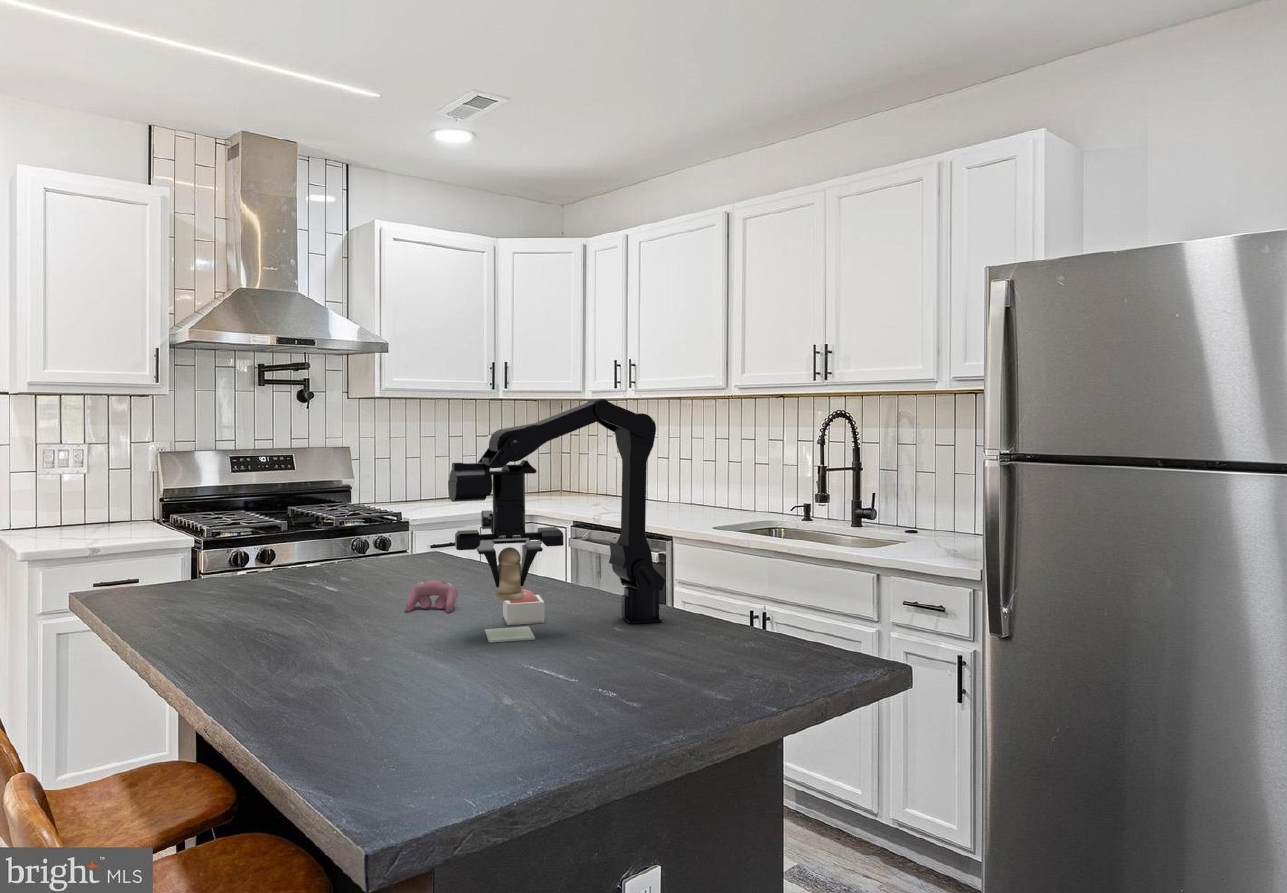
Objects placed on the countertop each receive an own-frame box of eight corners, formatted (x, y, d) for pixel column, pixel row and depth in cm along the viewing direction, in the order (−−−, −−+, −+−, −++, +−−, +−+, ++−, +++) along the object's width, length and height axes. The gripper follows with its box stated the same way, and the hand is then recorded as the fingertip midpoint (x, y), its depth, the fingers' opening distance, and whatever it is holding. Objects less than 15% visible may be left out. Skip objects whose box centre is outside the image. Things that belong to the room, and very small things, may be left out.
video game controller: (457, 617, 173) (461, 583, 176) (450, 611, 169) (455, 577, 172) (410, 616, 174) (415, 582, 177) (402, 610, 170) (407, 576, 173)
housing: (538, 614, 168) (538, 594, 168) (544, 623, 161) (544, 602, 161) (503, 617, 166) (503, 596, 166) (507, 625, 159) (507, 604, 159)
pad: (528, 628, 157) (528, 626, 157) (535, 639, 149) (535, 637, 149) (484, 631, 155) (484, 629, 155) (488, 642, 147) (488, 640, 147)
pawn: (521, 594, 155) (521, 544, 155) (525, 599, 150) (525, 548, 150) (494, 595, 154) (493, 546, 153) (497, 601, 149) (496, 550, 149)
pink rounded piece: (534, 613, 167) (534, 586, 167) (538, 619, 162) (538, 591, 162) (508, 615, 165) (508, 587, 165) (512, 621, 161) (511, 592, 161)
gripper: (553, 494, 162) (553, 575, 162) (452, 496, 157) (453, 581, 157) (563, 499, 151) (564, 586, 151) (456, 502, 146) (457, 592, 146)
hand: (509, 586), depth 152 cm, fingers closed on pawn, 4 cm apart
